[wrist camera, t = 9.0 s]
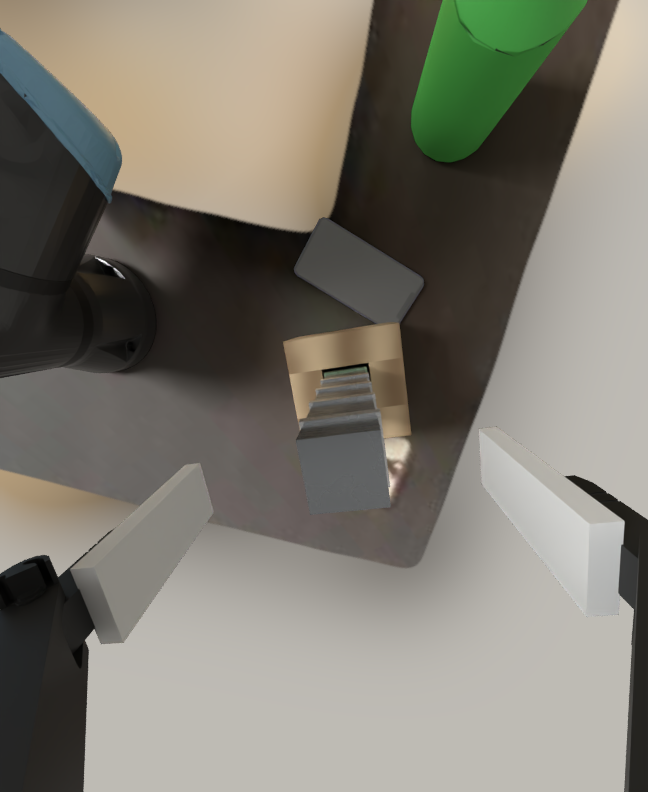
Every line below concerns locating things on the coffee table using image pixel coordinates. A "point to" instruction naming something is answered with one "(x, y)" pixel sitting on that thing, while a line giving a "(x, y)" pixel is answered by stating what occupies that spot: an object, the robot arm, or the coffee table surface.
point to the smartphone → (357, 274)
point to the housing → (352, 348)
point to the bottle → (481, 68)
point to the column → (344, 445)
